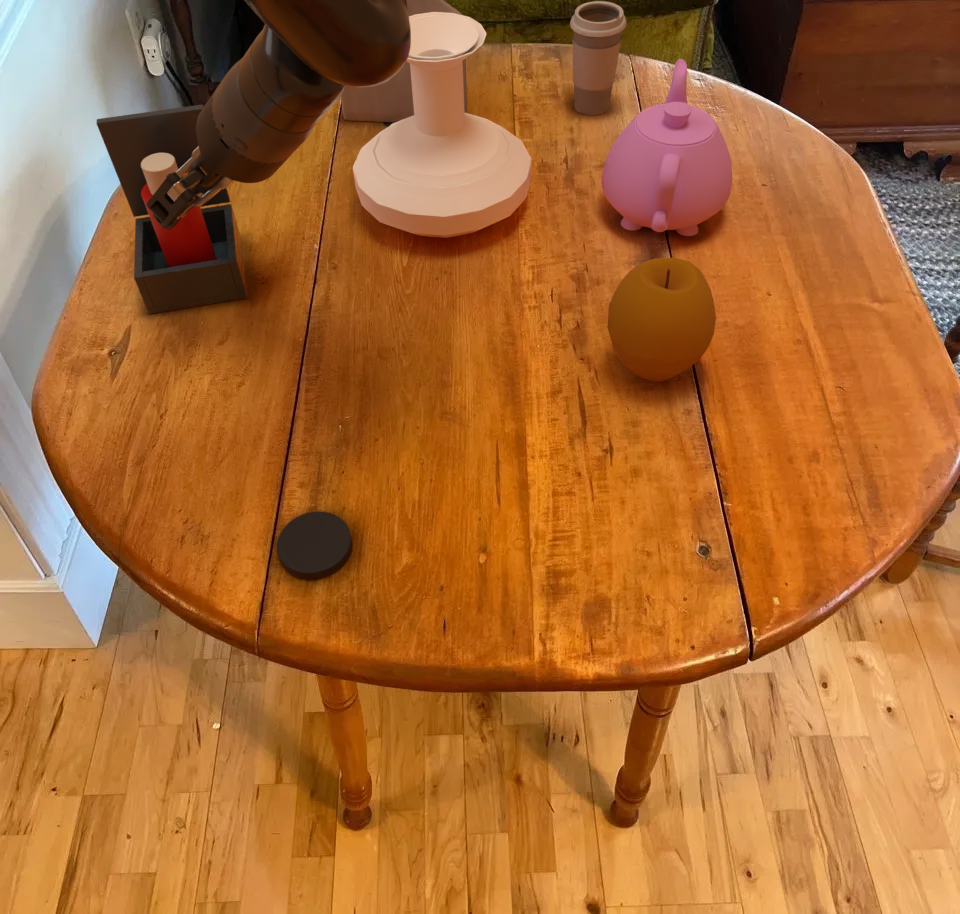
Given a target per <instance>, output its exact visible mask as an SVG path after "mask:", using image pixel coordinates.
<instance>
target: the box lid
mask: <svg viewBox="0 0 960 914" xmlns="http://www.w3.org/2000/svg"><path fill="white" fill-rule="evenodd" d="M203 108H204V104H197V105H188V106H182V107H181V106H180V107H174V108H168V109H160V110H153V111H146V112H139V113H132V114H122V115H117V116H116V115H115V116H108V117H102V118H97V119H96V126H97V129H98V131H99V134H100V136H101V139H102V141H103V143H104V146H105V149H106V151H107V153H108V156H109V159H110V161H111V163H112V166H113V168H114V171H115V173H116V176H117V178H118V180H119V183H120V186H121V189H122V191H123V194H124V196H125V198H126V201H127V204H128V206H129V209H130V210H131V213H132V216H133V217H134V218H135V217H137V218H138V217H144V216H149V214H148V211H147V209H146V206H145V203H144V201H143V198H142V195H141V191H142V189H143V187H144V186H145V185H146V184H147V181H146V179H145V176H144V173H143V170H142V168H141V162H142V160H143V159H144V158H146V157H147V156H149V155H152V154H155V153H168V154H171V155H172V156H173V157H174V158H175V161H176V164H177V167H178V169H179V168H181V167H182V166H183V165H184V164H185V163H186V162H187V161H188V160H189V159H190V158H191V157H192V152H193V151H194V150H195V149H196V148H197V147H198V146H199V145H198V141H197V135H196V124H197V119H198V116H199V114H200V112H201V111H202V109H203ZM188 174H190V172H188ZM196 187H197V188H198V190H199V191H200V192H201V193H202V194H206V193H207V192H208V191H209V190H210V189H211V188H207V187H203V186H201V185H200V184H199V183H198V184H197V185H196ZM228 203H231V197H230V193H229V190H228V187H227V188H225V189H221V190H220V191H219V192H218V193H217V194H216V195H215V196H214V197H213V198H211V199H210V200H209V201H208V202H207V203H206V204H204V205H202V206H200V208H202V207H207V206H209V207H210V206H216V205H220V204H222V205H223V204H228Z"/></svg>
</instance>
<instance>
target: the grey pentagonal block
mask: <svg viewBox="0 0 960 914" xmlns="http://www.w3.org/2000/svg"><path fill="white" fill-rule="evenodd" d="M406 2H407V9H408V15H409V16H412V15H416V14H423V13H430V12H444V13H455V14H459V15H463V14H462V13H461V12H460V11H458V10H457V9H456V8H455V7H453V6H451V5H450V4H449V3H448V2H447V1H445V0H406ZM462 63H463V90H464V113H468V112H469V111H468V85H467V84H468V83H467V57H466V58H465V59H464V60H463V61H462ZM340 101H341V109H342V114H343V115H342V116H343V119H344V120H345V121H350V122H351V121H355V122H372V123H373V122H376V123H377V122H378V123H392V124H393V123H396V122H398V121H400V120H403V119H406V118H408V117H411V116H413V115H414V106H413V94H412V82H411V71H410V63H408V62H407V61H406V62H405V64H404V66H403V67H402V69H401V70H400V71H399V72H398V73H397V74H396V75H395V76H394V77H393V78H391V79H390V80H388V81H387V82H384V83H382V84H379V85H375V86H371V87H352V86H347V85H346V86H345V89H344V91H343V93H342V94H341V96H340ZM468 114H469V113H468Z"/></svg>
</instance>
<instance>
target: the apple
mask: <svg viewBox="0 0 960 914" xmlns="http://www.w3.org/2000/svg"><path fill="white" fill-rule="evenodd" d="M712 293H713V292H712V289H711V286H710V285H709V283H708V281H707V279H706V277H705V275H704V273H703V272H702V270H701V268H699V267H697V266H696V265H695V264H693V263H692V262H690V261H688V260H685V259H682V258H678V257H657V258H652V259H650V260H646V261H643V262H640V263H639V264H637V265H636V266H635V267H633V268H632V269H631V270H629V271H628V272H627V274H626V275H625V276H624V277H623V279H621V281H620V282H619V284H617V287H616V289H615V290H614V292H613V295H612V297H611V300H610V302H609V304H608V311H607V325H606V326H607V332H608V334H609V338H610V342H611V346H612V348H613V351H614V352H615V354H616V356H617V357H618V358H619V360H620V361H621V363H622V365H623V366H624V367H625V368H627V369H628V371H629V372H631V373H632V374H634V375H635V376H637V377H639V378H640V379H643V380H646V381H649V382H652V383H656V382H664V381H667V380H669V379H672V378H675V377H676V376H678V375H680V374H681V373H683V372H685V371H687V370H688V369H689V368H691V367H692V366H693V365H695V364H696V363H697V362H699V361H700V359H701V358H702V357H703V356H704V355H705V354H706V351H707V350H708V349H709V347H710V344H711V343H712V341H713V340H712V339H713V337H714V335H715V329H716V319H717V314H716V309H715V308H716V307H715V302H714V297H713V294H712Z"/></svg>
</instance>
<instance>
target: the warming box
mask: <svg viewBox="0 0 960 914" xmlns="http://www.w3.org/2000/svg"><path fill="white" fill-rule="evenodd" d="M201 211H202V214H203V217H204V220H205V224H206V227H207V230H208V233H209V236H210V239H211V242H212V246H213V249H214V252H215V255H216V258H217V260H212V261H206V262H200V263H194V264H187V265H181V266H175V267H168V265H167V262H166V259H165V257H164V254H163V251H162V249H161V246H160V243H159V241H158V238H157V235H156V233H155V230H154V227H153V225H152V222H151V219H150V217H149V216H143V217H137V218H135V219H134V220H135V221H134V222H135V225H134V263H133V266H134V267H133V279H134V281H135V283H136V286H137V288H138V291H139V293H140V296H141V298H142V300H143V303H144V306H145V308H146V310H147V312H148V315H152V314H159V313H165V312H171V311H176V310H183V309H188V308H194V307H200V306H207V305H212V304H219V303H224V302H225V303H226V302H230V301H237V300H242V299H248V290H247V282H246V270H245V261H244V251H243V250H244V249H243V242H242V241H243V240H242V237H241V233H240V230H239V226H238V222H237V219H236V216H235V213H234V212H235V211H234V209H233V205H232V203H229V204H228V203H227V204H222V205H214V206H209V207H203V208H202V207H201Z"/></svg>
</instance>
